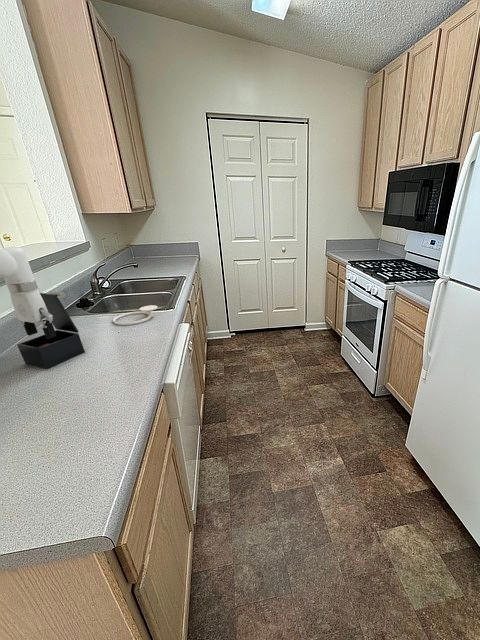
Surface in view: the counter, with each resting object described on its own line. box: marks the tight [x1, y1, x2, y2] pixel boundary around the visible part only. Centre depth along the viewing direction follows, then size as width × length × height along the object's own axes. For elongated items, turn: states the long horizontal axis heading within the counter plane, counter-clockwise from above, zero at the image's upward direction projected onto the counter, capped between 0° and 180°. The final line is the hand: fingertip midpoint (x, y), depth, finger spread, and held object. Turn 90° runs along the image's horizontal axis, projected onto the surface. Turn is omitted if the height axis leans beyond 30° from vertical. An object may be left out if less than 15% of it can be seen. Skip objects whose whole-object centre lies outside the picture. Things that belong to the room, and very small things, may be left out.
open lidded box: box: [16, 329, 86, 370], centre depth 119 cm, size 14×11×8 cm
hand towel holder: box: [112, 304, 158, 326], centre depth 158 cm, size 17×4×21 cm
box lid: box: [39, 290, 80, 334], centre depth 120 cm, size 15×11×5 cm
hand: (42, 335), depth 116 cm, fingers open, 9 cm apart
